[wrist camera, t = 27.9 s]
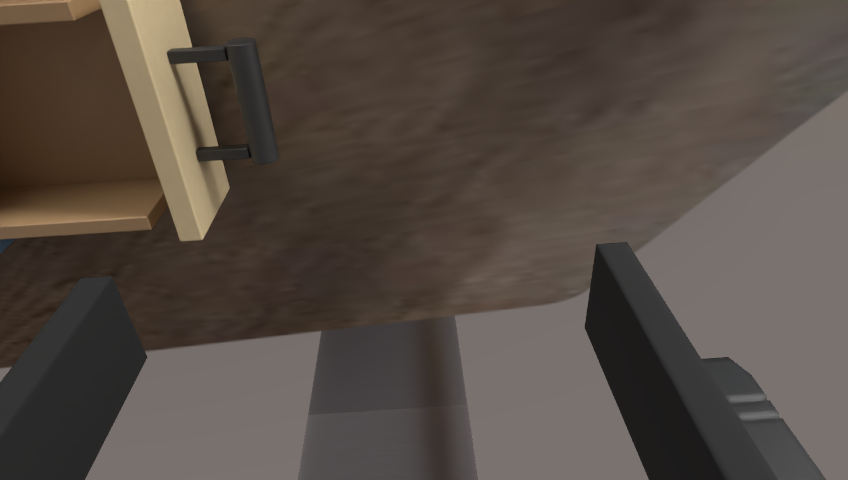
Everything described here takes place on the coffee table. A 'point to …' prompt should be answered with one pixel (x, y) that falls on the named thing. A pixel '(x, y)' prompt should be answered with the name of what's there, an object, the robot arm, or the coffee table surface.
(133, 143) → the drawer
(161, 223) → the coffee table surface
